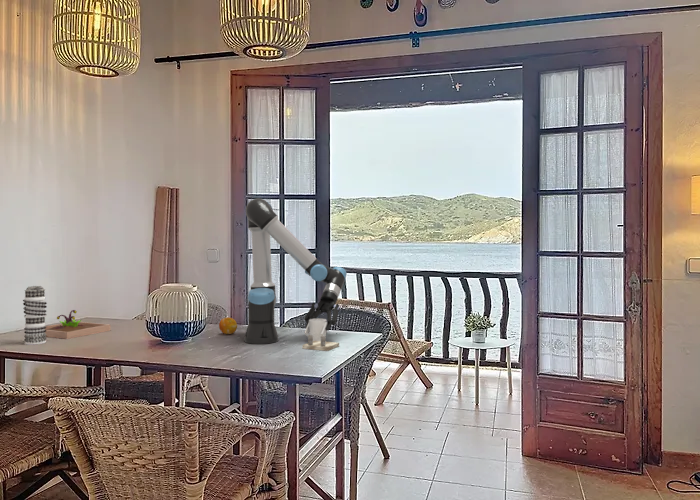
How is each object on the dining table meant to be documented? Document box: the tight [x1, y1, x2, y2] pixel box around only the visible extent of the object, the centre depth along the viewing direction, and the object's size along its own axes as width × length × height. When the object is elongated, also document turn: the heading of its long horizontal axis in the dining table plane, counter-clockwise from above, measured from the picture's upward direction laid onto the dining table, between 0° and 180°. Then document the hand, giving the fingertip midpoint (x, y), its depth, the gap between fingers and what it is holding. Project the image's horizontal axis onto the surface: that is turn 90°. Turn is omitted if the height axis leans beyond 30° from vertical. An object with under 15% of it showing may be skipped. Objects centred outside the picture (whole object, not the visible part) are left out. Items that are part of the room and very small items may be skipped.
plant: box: [46, 309, 92, 332], centre depth 275 cm, size 20×20×11 cm
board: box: [302, 334, 340, 352], centre depth 239 cm, size 12×11×6 cm
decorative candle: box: [22, 285, 48, 346], centre depth 248 cm, size 9×9×25 cm
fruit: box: [218, 316, 238, 335], centre depth 271 cm, size 8×9×8 cm
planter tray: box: [45, 321, 111, 340], centre depth 274 cm, size 25×25×3 cm
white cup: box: [309, 317, 328, 341], centre depth 251 cm, size 8×8×10 cm
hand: (314, 335), depth 248 cm, fingers closed on white cup, 8 cm apart
